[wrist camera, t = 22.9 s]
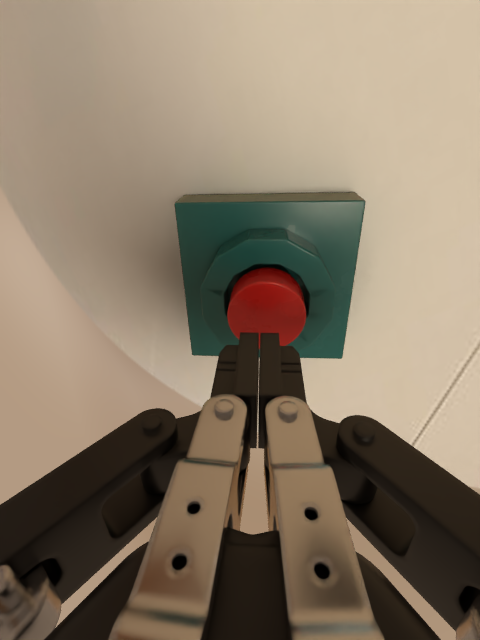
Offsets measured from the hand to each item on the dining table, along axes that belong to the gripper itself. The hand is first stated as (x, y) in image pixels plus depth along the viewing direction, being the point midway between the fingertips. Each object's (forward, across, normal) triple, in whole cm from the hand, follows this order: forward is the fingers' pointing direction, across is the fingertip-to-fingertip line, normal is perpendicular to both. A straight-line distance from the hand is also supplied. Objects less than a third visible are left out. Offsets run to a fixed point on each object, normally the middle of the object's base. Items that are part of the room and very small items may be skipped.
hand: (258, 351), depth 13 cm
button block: (+8, 0, 0) cm, 8 cm away
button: (+4, 0, 0) cm, 4 cm away
